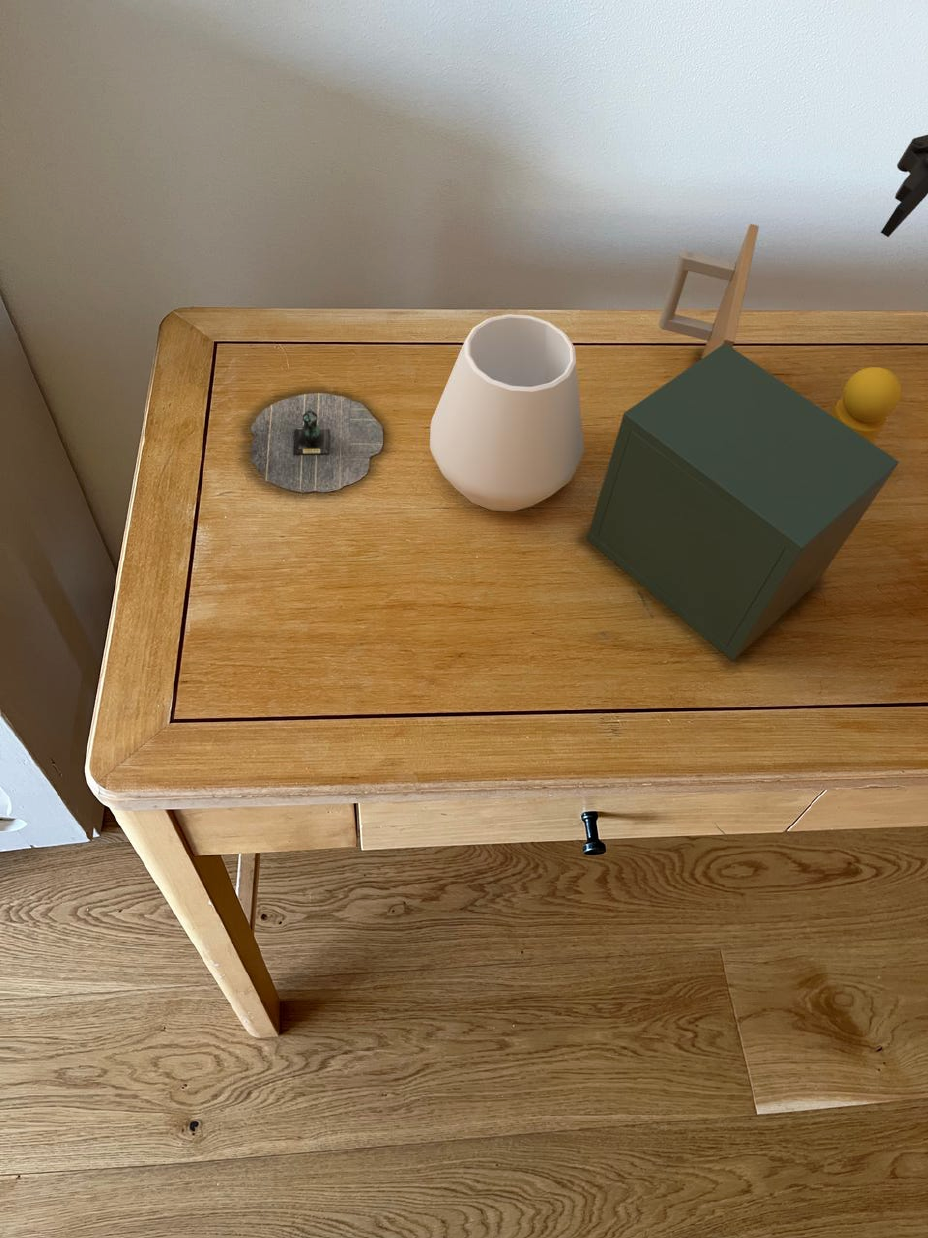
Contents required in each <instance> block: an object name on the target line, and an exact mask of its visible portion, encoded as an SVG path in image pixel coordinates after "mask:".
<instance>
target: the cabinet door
mask: <svg viewBox="0 0 928 1238" xmlns="http://www.w3.org/2000/svg"><path fill="white" fill-rule="evenodd" d="M759 228H760V226H759V225H758V224H753V223H750V224H749V225H748V228H747V231H746V233H745V236H744V238H743V242H742V244H741V246H740V247H741V248H740V250H739V253H738V256H737V258H736V261H730V260H726V259H722V258H717V257H714V256H711V255H706V254H701V253H698V252H693V251H689V250H682V251H680V252H679V255H678V258H677V261H676V264H675V268H674V271H673V275H672V278H671V281H670V285H669V287H668V291H667V295H666V298H665V301H664V305H663V308H662V311H661V314H660V317H659V320H658V327H659V329H661V330H664V331H668V332H673V333H676V334H680V335H684V336H687V337H692V338H696V339H699V340H704V341H706V344H705V346H704V349H703V351H702V354H701V359H703V358H704V357H705V356H707V355H708V354H710V353H711V352H713V351H714V350H716V349H717V348H718V347H720V346H721V345H723V344H724V343H726V344H727V345H729V346H730V347H732V348H734V344H735V341H736V337H737V332H738V327H739V322H740V318H741V314H742V309H743V303H744V298H745V293H746V289H747V284H748V281H749V276H750V270H751V265H752V261H753V257H754V255H753V254H754V252H755V246H756V242H757V239H758V238H757V237H758V232H759ZM689 272H691V273H695V274H700V275H703V276H707V277H712V278H715V279H718V280H719V279H720V280H724V281H728V283H727V285H726V288H725V291H724V294H723V296H722V299H721V301H720V302H721V303H720V305H719V308H718V310H717V314H716V315H715V318H714V321H713V323H712V322H708V321H704V320H700V319H696V318H692V317H688V316H685V315H680V314H676V311H677V308H678V305H679V302H680V299H681V296H682V293H683V289H684V287H685V283H686V280H687V278H688V277H687V276H688V273H689ZM701 359H700V360H701Z"/></svg>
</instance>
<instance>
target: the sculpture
mask: <svg viewBox="0 0 928 1238" xmlns="http://www.w3.org/2000/svg"><path fill="white" fill-rule="evenodd" d="M250 434H252V435H253V436H254V438H253V439H252V442H251V443H250V451H249V453H250V457H251V459H250V462H251V463H252V464H253V466H254V468H256V470H257V471H258V472H259V474H260V475H261V476H262V478H263V479H264V481H265V482H266V483H270V484H273V485H274V486H275V487H280V488H283V489H284V490H289V491H292V492H295V493H304V494H305V493H310V492H318V493H330V492H332V491H340V489H342V488H344V487H345V486H349V485H352V484H354V483H356V482H358V481H360V480H361V479H363V478H364V477H365V476H367V474H368V472H369V469H370V461H371V459H370V458H371V457H372V456H376V455H377V454H379V453H381V451H382V449H383V447H384V432H383V426H382V425H381V424H380V422H379V421H378V420H377V419H376V418H375V417H374V416H373V414H372V413H371V411H369V410H368V408H366V406H365V405H364V404H363V403H362V402H359V401H356V400H352V399H350V398H348V397H346V396H342V395H337V394H331V393H326V392H314V393H313V392H311V393H304V394H298V395H296V396H291V397H287V398H285V399H281V400H278V401H276V402H275V403H272V404H270V406H268V407H266V408H264V409H262V410H261V412H260V413H259V415H258V416H257V417H256V419H255V421H254V422H253V423H251V426H250Z"/></svg>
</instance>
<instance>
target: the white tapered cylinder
mask: <svg viewBox="0 0 928 1238" xmlns="http://www.w3.org/2000/svg"><path fill="white" fill-rule="evenodd" d="M577 366H578V365H577V356H576V347H575V346H574V344H573V342H572V340H571V339H570V338H569V336H568V335H567V334H566V332H564V331H563V330H562V329H560V328H559V327H557V326H556V325H554V324H553V323H552V322H550V321H547V320H545V319H542V318H538V317H536V316H533V315H528V314H513V313H512V314H511V313H507V314H502V315H497V316H493V317H488V318H487V319H485V320H484V321H482V322H481V323H479V324H477V325H475V326H473V328H472V329H471V330H470V332H469V334H468V335H467V337H466V338H465V339H464V342H463V343H462V347H461V349H460V351H459V354H458V356H457V359H456V361H455V363H454V366H453V368H452V370H451V373H450V375H449V378H448V379H447V382H446V385H445V387H444V389H443V392H442V394H441V396H440V399H439V402H438V403H437V406H436V409H435V411H434V413H433V416H432V418H431V422H430V429H429V430H430V431H429V432H430V433H429V448H430V452H431V455H432V457H433V459H434V461H435V463H436V465H437V467H438V469H439V470H440V473H441V475H442V476H443V477H444V478H445V479H446V480H447V481H448V482H449V483H450V484H451V485H452V486H453V487H454V488H455V489H456V490H457V491H458V493H460V494H461V495H463V496H464V497H465V498H466V499H467V500H468V501H470V502H471V503H472V504H474V505H476V506H479V507H481V508H484V509H487V510H490V511H493V512H495V511H496V512H497V511H498V512H517V511H520V510H523V509H527V508H530V507H533V506H535V505H537V504H538V503H540V502H542V501H544V500H546V499H548V498H551V496H553V495H554V494H555V493H556V492H558V491H559V490H561V489H562V488H563V487H564V486H566V485H567V484H569V483H570V482H571V481H572V479H573V477H574V476H575V474H576V472H577V470H578V467H579V465H580V464H581V461H582V459H583V457H584V451H585V447H584V446H585V445H584V435H583V425H582V424H583V423H582V413H581V412H582V411H581V399H580V390H579V378H578V368H577Z"/></svg>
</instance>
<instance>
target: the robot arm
mask: <svg viewBox="0 0 928 1238" xmlns="http://www.w3.org/2000/svg"><path fill="white" fill-rule="evenodd" d="M896 168H897V169H898V170H899V171H900V172H902V173H909V175H908V176H907V177H906V178H905V179H904V180H903V181H902V183H901V185H900V186H899V188H898V190H897V191H896V193H895V197H894V199H895V200H897V201H898V202H900V203H898V205H897V206H896V207H895V209H894V210H893V212H892V213H891V215H890V217H889V219H887V221H886V223H885V224H884V226H883V228H882V229H881V230H880V234H882V235H883V236H885V237H886V238H889V237H890V236H892V235H893V233H894V231H896V230H897V229H898V227H899V226H900V225H901V224H902V223H903V222H904V221H905V220H906V219H907V218H908V217H909V216H910V214H911V213H913V211H914V210H915V209H916V208H917V207H918V206H919V205H920V203H921V202H922V201H923V200H924V199H925V198H926V197H927V196H928V134H925V135H920V136H917V137H914V138H912V139H911V141H910V143H909V144H908V145H907V147H906V148H905V151H904V152H903V154H902V156H901V157H900V159H899V161H898V162H897V164H896Z"/></svg>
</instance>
